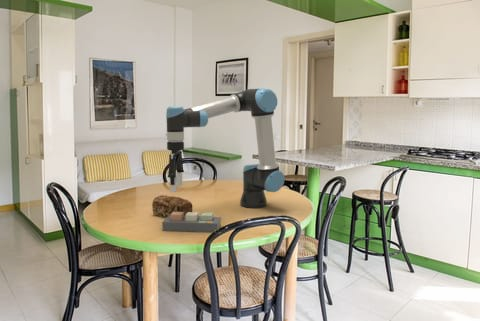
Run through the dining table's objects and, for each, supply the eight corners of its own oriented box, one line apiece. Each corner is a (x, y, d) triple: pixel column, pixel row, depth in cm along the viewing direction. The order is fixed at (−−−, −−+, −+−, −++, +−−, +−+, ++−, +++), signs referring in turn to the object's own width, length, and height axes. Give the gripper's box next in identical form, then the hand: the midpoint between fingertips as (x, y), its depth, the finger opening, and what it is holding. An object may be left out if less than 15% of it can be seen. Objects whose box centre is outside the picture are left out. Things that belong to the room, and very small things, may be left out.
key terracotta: (183, 219, 188) (183, 212, 188) (181, 222, 184) (181, 214, 183) (173, 219, 189) (173, 211, 188) (170, 222, 184) (170, 214, 183)
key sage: (213, 220, 187) (213, 212, 187) (211, 223, 182) (211, 215, 182) (202, 219, 188) (202, 212, 187) (200, 222, 183) (200, 215, 182)
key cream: (198, 219, 188) (198, 212, 187) (196, 222, 183) (196, 215, 182) (187, 219, 188) (187, 212, 188) (185, 222, 183) (185, 215, 183)
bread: (151, 215, 206) (151, 196, 205) (165, 211, 215) (165, 192, 214) (180, 221, 197) (179, 201, 195) (193, 216, 206) (193, 197, 204)
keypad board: (220, 225, 190) (220, 216, 190) (217, 232, 180) (217, 223, 179) (168, 223, 193) (168, 214, 192) (162, 230, 182) (162, 221, 181)
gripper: (173, 138, 193) (174, 183, 196) (159, 143, 170) (161, 194, 173) (189, 138, 192) (189, 184, 195) (177, 143, 169) (178, 194, 172)
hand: (176, 189), depth 184 cm, fingers open, 11 cm apart
